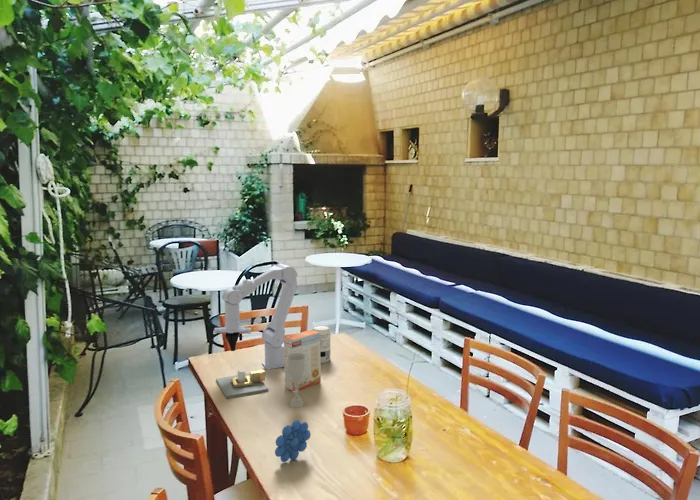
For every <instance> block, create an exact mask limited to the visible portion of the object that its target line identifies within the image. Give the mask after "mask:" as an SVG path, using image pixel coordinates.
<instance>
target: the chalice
mask: <svg viewBox="0 0 700 500" xmlns="http://www.w3.org/2000/svg"><path fill="white" fill-rule="evenodd" d="M305 357H306V355H305V354H302V353H292V354H289V355H288V356H287V359H288V371H289V373H290V376H291V378H292V380H293V381H295V386H294V387H295V391H294V396H292V398H291V400H290V403H289V406H290V407H294V408H300V407H303V405H305V404H304V402H303V399H302V397H300V395H299V392H300V391H299V390H298V387H299V386H298V381H300V379H301V377H302V375H303V372H304V369H305Z"/></svg>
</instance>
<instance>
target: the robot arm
mask: <svg viewBox="0 0 700 500" xmlns="http://www.w3.org/2000/svg"><path fill="white" fill-rule="evenodd" d="M297 277H298V272H297V270H296V269H295V268H294V266H291V265H290V266H289V265H286V264H284V263H276V264H275V265H273V266H271V267H269V268H268V269H267V270H266V271H264V272H263V273H261V274H260V275H258V276H256V277H254V278H253V279H243V280H242V282H241V283H238V284H236V285H233V286H232V287H230V288H227V289H225V290H224V291H223V293H222V295H221V298H222V300H223V302H224V324H225V326H223V327H214V329H213V333H214V334H215V335H217V334H225V335H224V336H225V339H226V341H227V343H228V345H229V348H230V351H231V352H234V351H235V350H236V345H237V343H238V340H239V336H240V334H248V335H250V334H251V332H252V328H251V327H244V326H243V327H242V326H241V325H240V321H241V320H240V302H241V301H242V299H244V298H246V297H247V296H249V295H251V294H252V293H254V292H255V291H256V289H257V287H260V286H261V285H264V284H266V283H268V282H270V281H271V280H279V282H280V284H281V285H282V290H281V293H280V296H279V298H278V299H279V300H278V302H277V305H276V308H275V311H274V314H273V315H272V319H271V321H270V322H269V323H268V324H267V325H266V327H265V329H264V330H263V331H262V334H261V338H262V340H263V341H264V361H262V362H261V364H262V365H263V367H265V369H266V370H272V369H273V370H274V369H277V368H284V337H285V334H286V330H285V326H284V325H285V323H286V320H287V317H288V314H289V310H290V309H291V305H292V303H293V299H294V296H295V293H296V291H297V288H298V281H297V280H298V279H297Z"/></svg>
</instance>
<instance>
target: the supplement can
mask: <svg viewBox="0 0 700 500" xmlns="http://www.w3.org/2000/svg"><path fill="white" fill-rule="evenodd" d="M312 330H314V331H317V332H320V361H321V364H326V363H328V362H329V361H330V360H331V329H330V327H329V326H327V325H316V326H314V327H313V328H312Z"/></svg>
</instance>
